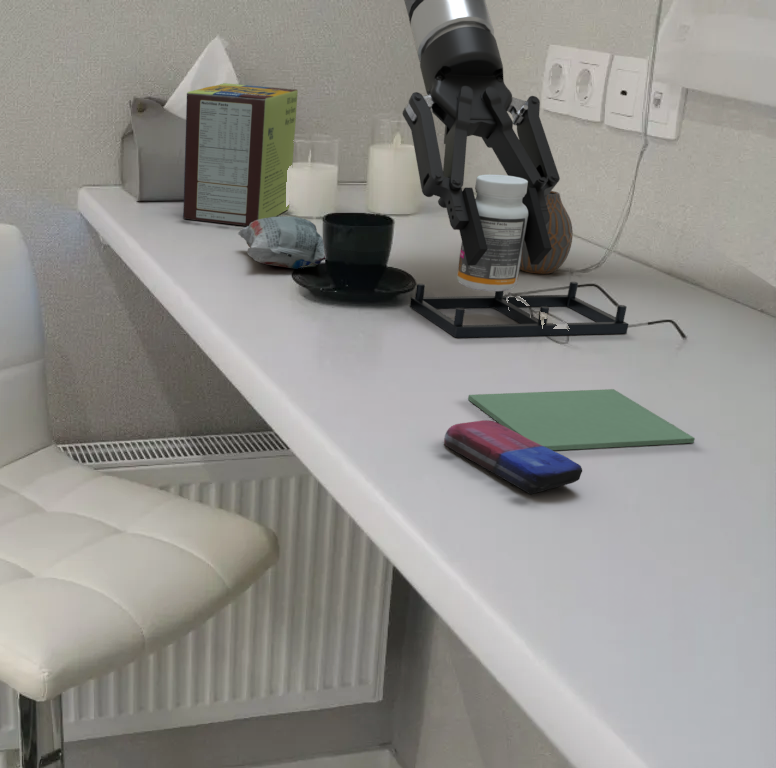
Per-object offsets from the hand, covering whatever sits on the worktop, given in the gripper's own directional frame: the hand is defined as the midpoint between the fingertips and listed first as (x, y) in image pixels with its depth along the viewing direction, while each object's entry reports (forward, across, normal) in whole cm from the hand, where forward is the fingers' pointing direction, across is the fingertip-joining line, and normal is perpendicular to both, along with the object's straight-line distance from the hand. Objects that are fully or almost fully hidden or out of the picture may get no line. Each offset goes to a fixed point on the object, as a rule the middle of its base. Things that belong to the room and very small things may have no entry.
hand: (509, 256), depth 107 cm
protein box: (-34, +10, -44) cm, 57 cm away
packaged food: (-15, +13, -25) cm, 31 cm away
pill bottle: (0, 0, -5) cm, 5 cm away
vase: (-12, -17, -22) cm, 30 cm away
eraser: (+27, +15, +17) cm, 35 cm away
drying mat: (+21, +5, +11) cm, 25 cm away
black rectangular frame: (+2, -4, -8) cm, 9 cm away
